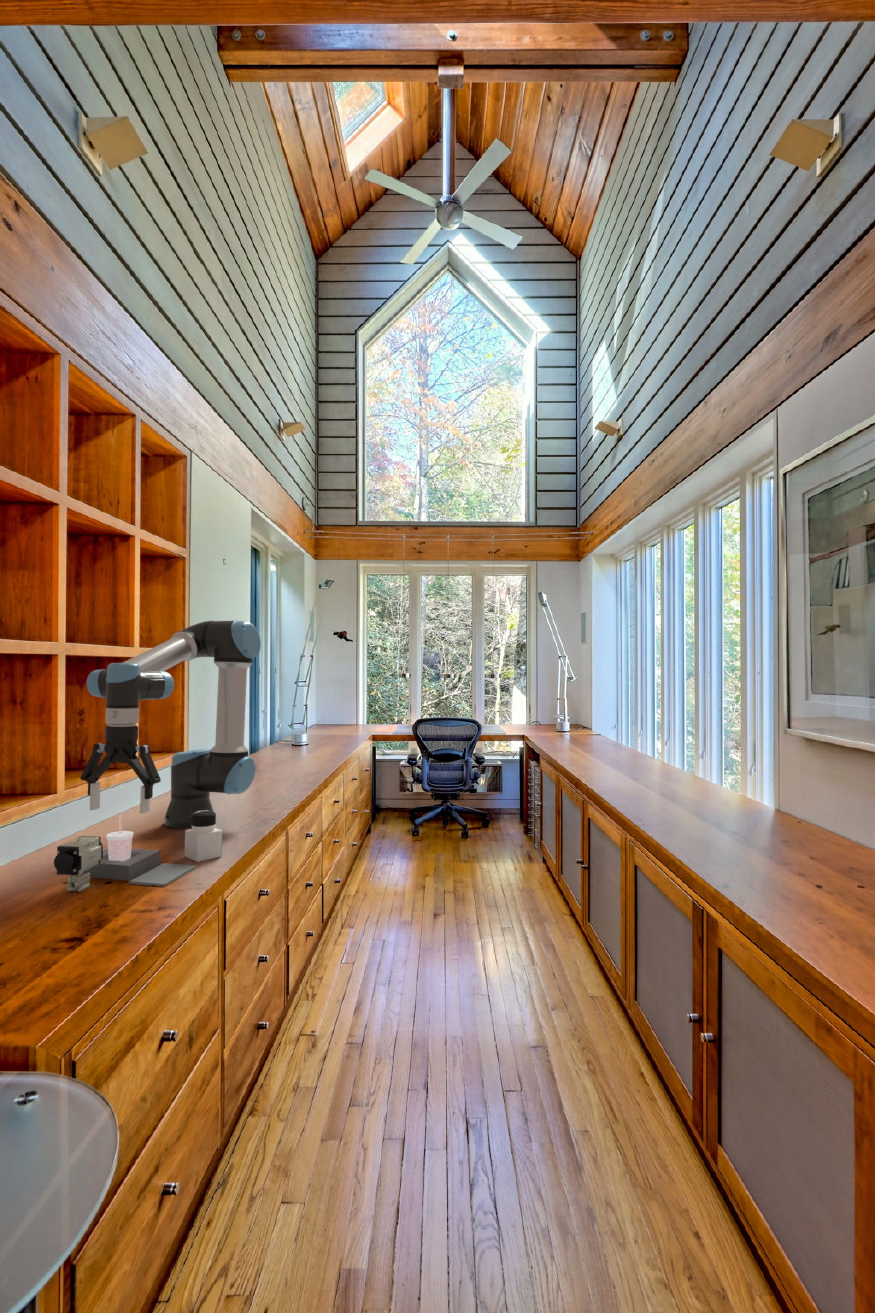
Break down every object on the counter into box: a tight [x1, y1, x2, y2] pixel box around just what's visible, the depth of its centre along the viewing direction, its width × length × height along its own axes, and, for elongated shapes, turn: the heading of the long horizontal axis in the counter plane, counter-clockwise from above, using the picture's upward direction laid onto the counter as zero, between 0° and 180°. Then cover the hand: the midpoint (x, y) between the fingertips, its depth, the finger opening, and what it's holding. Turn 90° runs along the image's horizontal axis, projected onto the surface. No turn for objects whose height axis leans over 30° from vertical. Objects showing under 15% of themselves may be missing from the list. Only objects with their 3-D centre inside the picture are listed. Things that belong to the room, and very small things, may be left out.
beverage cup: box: [105, 813, 134, 861], centre depth 165 cm, size 6×6×14 cm
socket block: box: [82, 847, 161, 881], centre depth 165 cm, size 13×14×4 cm
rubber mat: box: [129, 862, 197, 887], centre depth 162 cm, size 14×9×1 cm, turn 171°
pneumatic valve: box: [53, 835, 104, 893], centre depth 152 cm, size 6×12×12 cm, turn 176°
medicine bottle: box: [184, 810, 223, 863], centre depth 177 cm, size 7×7×12 cm
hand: (119, 810), depth 165 cm, fingers open, 13 cm apart
